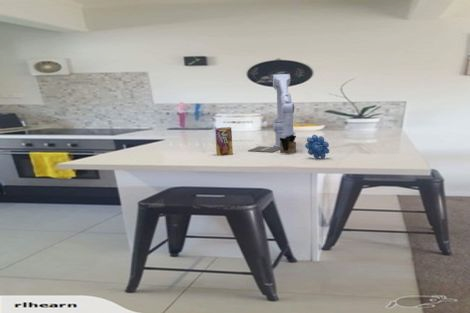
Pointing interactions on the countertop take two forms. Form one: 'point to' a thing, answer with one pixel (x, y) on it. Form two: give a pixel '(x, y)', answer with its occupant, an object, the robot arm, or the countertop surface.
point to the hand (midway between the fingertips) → (288, 149)
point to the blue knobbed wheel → (317, 146)
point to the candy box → (224, 141)
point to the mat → (265, 149)
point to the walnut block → (289, 148)
